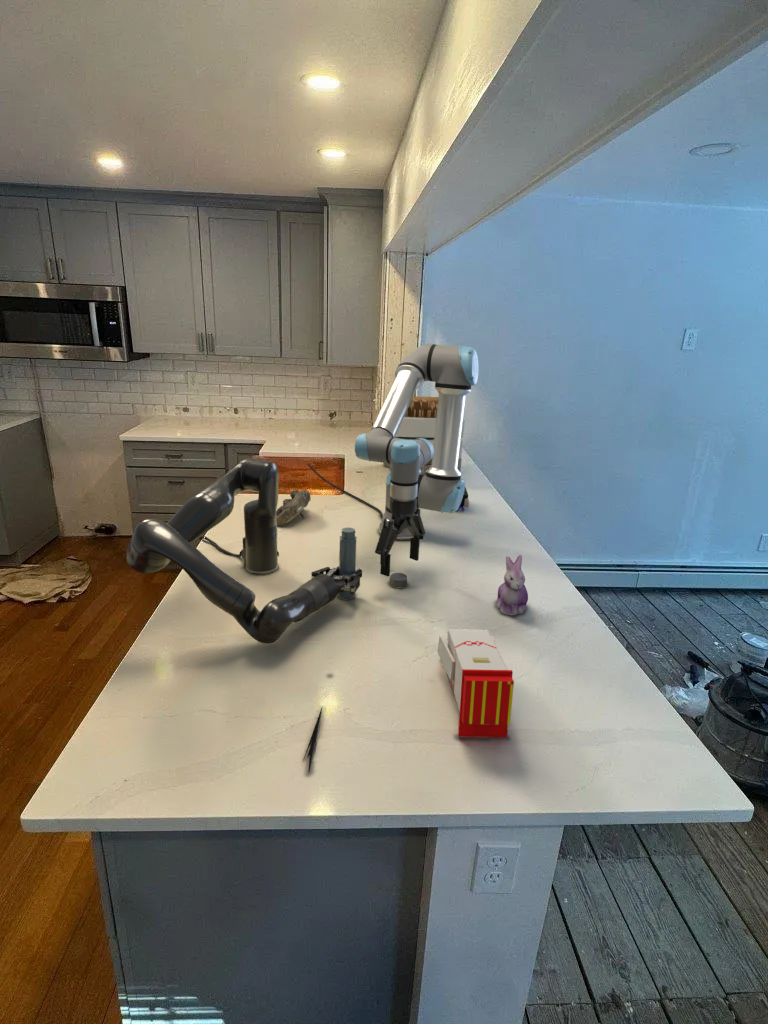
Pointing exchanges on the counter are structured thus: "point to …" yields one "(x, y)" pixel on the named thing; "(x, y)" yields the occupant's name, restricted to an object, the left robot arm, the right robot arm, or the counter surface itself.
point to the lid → (398, 580)
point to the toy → (478, 682)
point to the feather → (313, 740)
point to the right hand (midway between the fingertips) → (399, 566)
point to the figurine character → (464, 500)
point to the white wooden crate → (422, 423)
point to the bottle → (347, 557)
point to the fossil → (292, 506)
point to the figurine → (512, 589)
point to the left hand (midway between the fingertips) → (352, 569)
